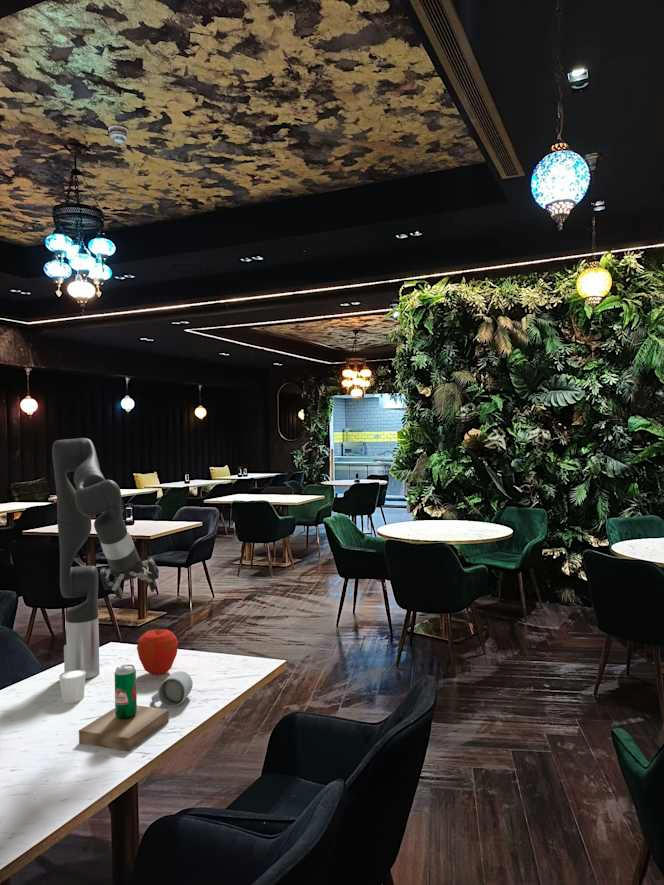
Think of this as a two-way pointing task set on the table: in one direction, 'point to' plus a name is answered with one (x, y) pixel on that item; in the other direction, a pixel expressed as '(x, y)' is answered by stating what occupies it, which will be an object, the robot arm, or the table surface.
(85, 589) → the robot arm
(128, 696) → the soda can
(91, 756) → the table surface
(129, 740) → the walnut plate
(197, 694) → the table surface
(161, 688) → the ceramic mug
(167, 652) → the apple
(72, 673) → the white cup
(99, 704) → the table surface
